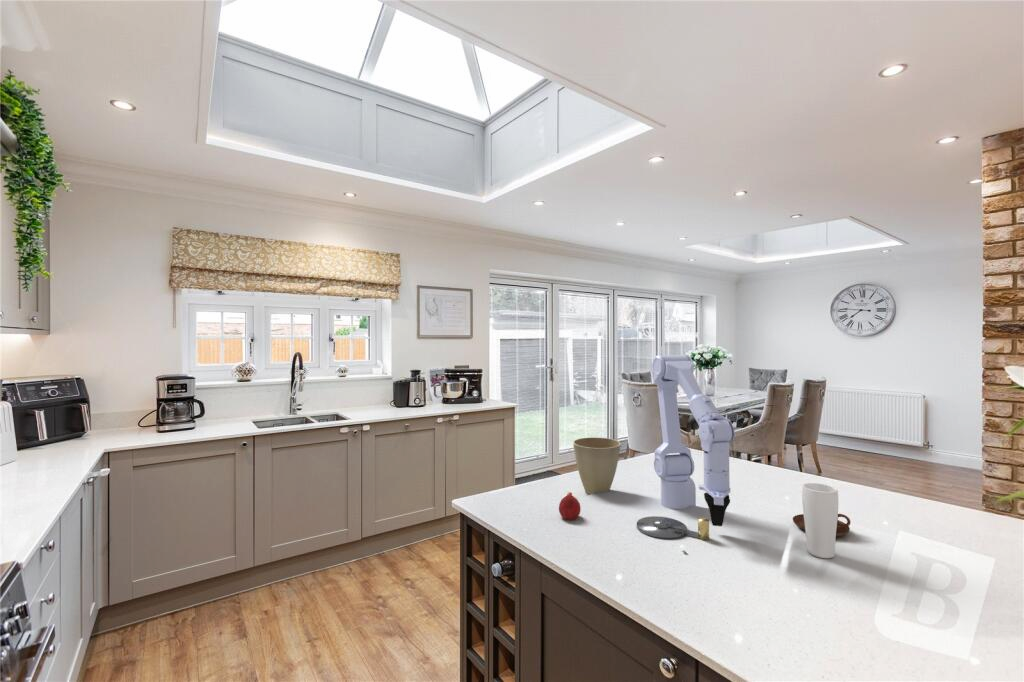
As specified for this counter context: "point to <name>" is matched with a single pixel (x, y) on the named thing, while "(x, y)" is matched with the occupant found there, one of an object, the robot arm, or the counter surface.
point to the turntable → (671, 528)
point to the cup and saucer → (841, 526)
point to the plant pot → (596, 462)
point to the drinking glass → (820, 518)
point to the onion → (569, 507)
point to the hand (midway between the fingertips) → (717, 524)
